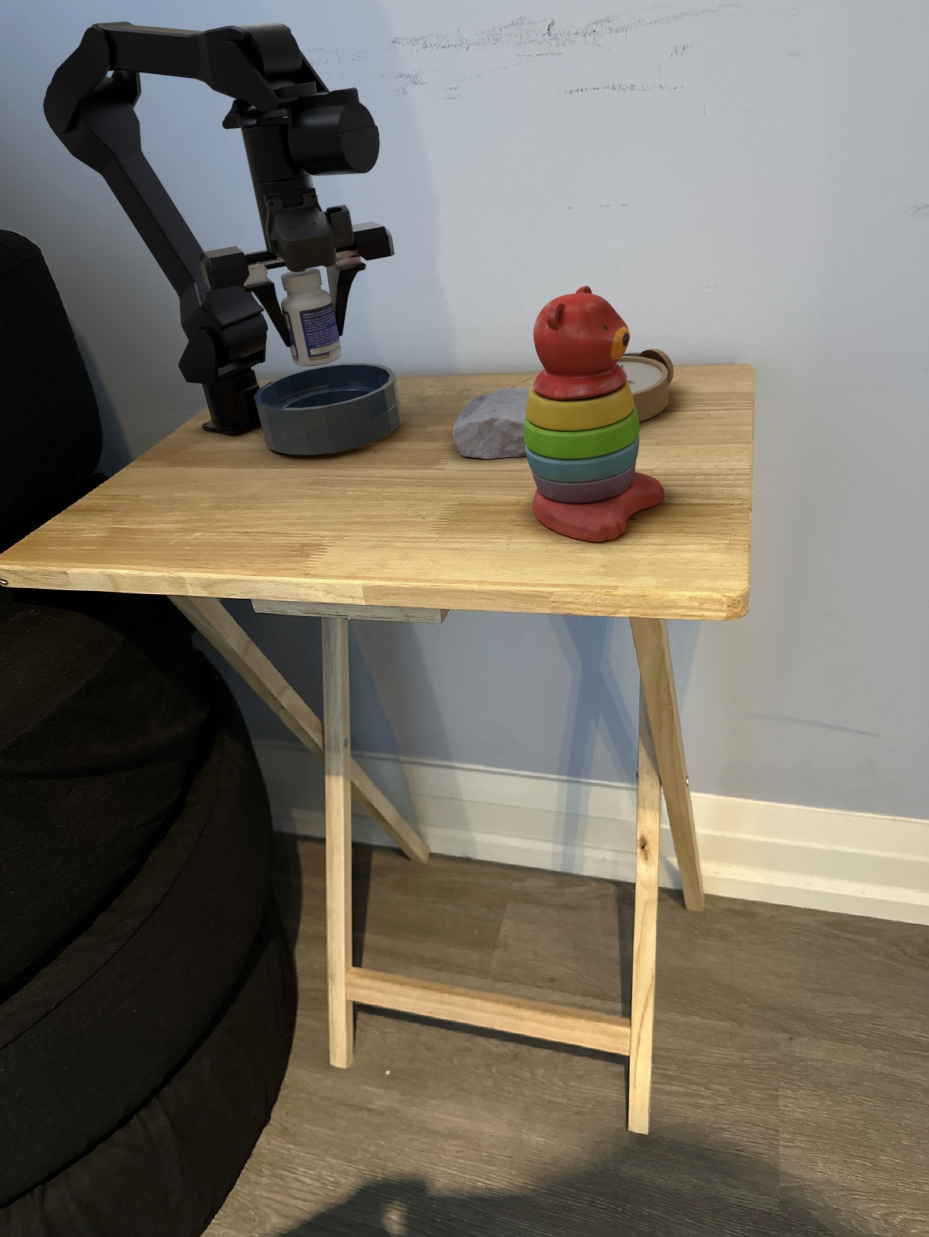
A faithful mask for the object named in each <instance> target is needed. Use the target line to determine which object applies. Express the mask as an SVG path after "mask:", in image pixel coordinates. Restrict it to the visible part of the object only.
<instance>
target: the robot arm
mask: <svg viewBox="0 0 929 1237" xmlns="http://www.w3.org/2000/svg"><path fill="white" fill-rule="evenodd" d="M299 46H300V45H299V44H298V41H297V39H296V38H295V36H294V34H293V33H292V29H291V28H290V27H289V26H288V25H286V24H284V23H283V22H279V21H271V22H269V21H268V22H259V23H258V22H257V23H245V24H234V25H225V26H220V27H216V28H210V29H206V30H195V29H183V28H172V27H161V26H149V25H138V24H133V23H131V22H129V21H110V22H98V23H97V22H96V23H93V24H91V26H90V27H87V28H86V30H85V31H84V33H83V36H82V37H81V40H80V42H79V45H78V46H77V48H76V49H75V50H74V51H73V52H71V53H70V55H69V56H68V57H67V58H66V59H65V60H64V61H63V62H62V63H61V64H60V65H59V66H58V67H57V68H56V69H55V71H54V73H53V76H52V78H51V80H50V83H49V84H48V85H47V88H46V91H45V95H44V98H43V102H42V109H43V114H44V117H45V120H46V122H47V124H48V126H49V128H50V129H51V131H52V132H53V134H54V135H55V136H56V137H57V139H58V140H59V142H61V143H62V145H63V146H64V147H65V149H67V151H68V152H69V153H70V155H71V156H72V157H73V158H75V159H77V160H78V161H80V162H81V163H83V164H84V165H85V166H87V167H88V168H90V169H92V170H93V171H94V172H96V173H98V174H99V175H100V176H101V177H102V178H103V180H104V182H105V183H106V185H107V186H108V187H109V189H110V191H111V192H112V194H113V195H114V198H116V200H117V202H118V203H119V205H120V206H121V208H122V210H123V211H124V213H125V214H126V216H127V217H128V219H129V220H130V222H131V223H132V225H133V227H134V228H135V230H136V231H137V233H138V235H139V236H140V238H141V239H142V241H143V242H144V244H145V245H146V247H147V249H148V250H149V253H150V254H151V255H152V256H153V258H154V260H155V261H156V264H158V266H159V268H160V270H161V271H162V272H163V274H164V275H165V277H166V279H167V280H168V282H169V283H170V285H171V287H172V288H173V290H174V291H175V292H176V295H177V296H178V301H179V315H180V316H179V317H180V326H181V328H182V330H183V332H184V335H185V336H186V339H187V340H188V341H187V343H186V345H185V347H184V350H183V353H182V355H181V357H180V359H179V361H178V364H177V366H178V369H179V371H180V373H181V374H182V377H183V378H184V380H185V382H186V383H188V384H198V385H199V384H201V385H202V389H203V390H202V391H203V394H204V397H205V400H206V403H207V404H206V405H207V407H208V412H209V416H210V420H209V421H206V422H204V423H202V424H201V428H202V430H207V431H213V432H217V433H223V434H227V435H230V436H237V435H240V434H243V433H245V432H246V431H249V430H251V429H253V428H255V427H258V426H261V423H260V419H259V415H258V411H257V407H256V402H255V398H254V395H255V394H256V393H257V391H258V390H259V389H260V388H261V387H260V384H259V383H258V379H257V375H256V371H255V369H253V367H255V366H257V365H259V364H263V363H265V362H266V360H267V359H266V358H267V357H266V356H267V341H268V331H269V325H268V322H267V320H266V318H265V316H264V314H263V312H266V314H267V316H268V318H269V319H270V321H271V322H272V324H273V326H274V328H275V330H276V331H277V333H278V335H279V337H280V338H281V341H282V342H283V344H284V346H285V347H286V348H290V347H291V344H290V338H289V333H288V330H287V327H286V324H285V321H284V317H283V314H282V309H281V304H280V302H279V300H278V296H277V291H276V285H275V282H274V281H272V280H271V279H270V278H269V277H268V273H269V272H268V271H269V270H274V269H280V268H285V267H286V269H287V270H288V272H290V271H291V272H303V271H305V270H306V269H308V268H317V267H324V268H325V269H326V276H327V285H328V293H329V294H330V295H331V298H332V302H333V307H334V313H335V318H336V323H337V328H338V334H339V337H343V335H344V330H345V323H346V315H347V308H348V302H349V297H350V293H351V289H352V285H353V282H354V280H355V278H356V277H357V274H358V273H359V272H362V271H365V270H367V264H366V263H365V262H363V260H365V261H366V262H368V261H373V260H380V259H384V258H390V257H393V256H394V255H395V254H396V253H395V247H394V246H395V245H394V239H393V236H392V233H391V231H390V230H389V229H388V228H387V227H386V226H385V225H383V224H380V223H377V222H374V221H367V222H361V223H355V224H353V222H352V218H351V212H350V209H349V208H348V207H347V205H346V204H340V205H335V206H329V207H326V210H323V208H322V207H321V205H320V203H319V199H318V194H317V190H316V187H315V186H314V181H313V177H321V176H323V177H324V176H325V177H326V176H342V175H343V176H344V175H361V174H368V173H369V172H370V171H372V169H373V168H374V167H375V166H376V164H377V161H378V158H379V154H380V149H381V147H380V146H381V143H380V142H381V139H380V130H379V126H378V125H376V123H375V119H374V117H373V115H372V114H371V111H370V110H369V109H368V108H367V106H365V105H364V104H363V103H362V102H360V95H359V90H358V88H357V87H356V86H354V87H345V88H339V89H333V90H330V89H329V88H328V86H327V85H326V84H325V82H324V81H323V79H322V78H321V77H320V75H319V74H318V73H317V71H316V70H315V68H314V67H313V66H312V64H311V63H310V61H309V60H308V58H307V57H306V55H305V54H304V52H303V51H302V50H301V49H300V47H299ZM109 72H112V73H111V75H110V76H108V73H109ZM141 74H149V75H156V76H157V75H159V76H167V77H176V78H184V79H192V80H197V81H199V82H201V83H205V84H206V85H207V86H208V87H209V88H210V89H211V90H212V91H214V92H216V93H219V94H221V95H223V96H227V97H229V98H232V99H233V101H232V104H231V107H230V110H228V112H227V113H226V115H225V117H224V118H223V120H222V122H221V126H222V128H223V129H224V130H235V129H240V132H241V136H242V141H243V146H244V150H245V155H246V159H247V164H248V169H249V175H250V179H251V183H252V189H253V192H254V197H255V198H254V199H255V202H256V208H257V211H258V216H259V221H260V226H261V232H262V235H263V240H264V244H265V249H262V250H257V251H250V252H246V253H244V251H243V250H242V249H240V248H239V247H238V246H237V245H233V246H227V247H223V248H218V249H212V250H207V251H205V250H204V249H203V248H202V246H201V244H200V242H199V241H198V239H197V237H196V236H195V234H194V233H193V231H192V230H191V228H190V226H189V225H188V223H187V221H186V220H185V218H184V216H183V215H182V213H181V212H180V211H179V208H178V207H177V206H176V204H175V203H174V201H173V199H172V198H171V196H170V194H169V193H168V191H167V190H166V188H165V187H164V185H163V183H162V181H161V180H160V178H159V177H158V175H157V173H156V172H155V170H154V169H153V167H152V166H151V165H152V164H150V162H149V160H148V159H147V157H146V156H145V154H144V152H143V148H142V132H141V129H142V128H141V121H140V120H139V117H138V116H137V113H136V111H135V107H136V106H137V103H138V101H139V99H140V97H141V95H142V93H143V92H142V83H141V81H142V80H141ZM362 259H363V260H362ZM255 297H256V298H255ZM257 300H258V301H259V302H258V301H257Z"/></svg>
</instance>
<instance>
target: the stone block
mask: <svg viewBox="0 0 929 1237" xmlns="http://www.w3.org/2000/svg"><path fill="white" fill-rule="evenodd" d="M530 389H531V387H525V386H518V387H517V386H516V387H515V386H513V387H503V388H500V389H496V390H495V391H492V392H486V393H485V392H484V393H483V394H482V395H477V396H475V397H474V398H471V399H470V400H469V401H468V404H467V405H465V406H464V407H463V408H462V410H461V411H460V413H459V415H458V417H457V419H456V422H454V424H453V427H452V432H451V434H452V441H453V443H454V446H455V448H456V449H457V451H458V453H460V454H461V456H463V457H469V458H476V459H481V460H493V459H503V458H520V457H527V456H526V452H525V442H524V422H525V417H526V405H527V399H528V394H529V391H530Z"/></svg>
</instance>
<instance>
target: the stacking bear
mask: <svg viewBox="0 0 929 1237" xmlns="http://www.w3.org/2000/svg"><path fill="white" fill-rule="evenodd" d="M532 335H533V336H532V337H533V344H534V348H535V352H536V355H537V358H538V360H539V362H540V363H541V365H542V366H543V369H542V370H541V371H540V372H538V374H537V376H536V377H535V379H534V381H533V385H532V386H531V387H530V388H531V389H530V391H529V394H528V399H527V405H526V417H525V422H524V442H525V452H526V456H525V457H526V460H527V462H528V466H529V469H530V471H531V475H532V478H533V480H534V484H535V485H536V489H535V492H534V495H533V499H532V513H533V515H534V516H535V518H536V519H537V520H538V521H539V522H540V523H541V524H543V525H544V526H546V527H547V528H549V529H551V530H553V531H555V532H557V533H559V534H562V535H565V536H568V537H571V538H575V539H577V540H578V539H579V540H583V541H589V542H590V541H591V542H605V541H612V540H614V539H616V538H618V537H619V536H621V535H623V534H624V533H625V532H626V531H627V521H628V519H629V518H630V517H631V516H632V515H633V514H635V513H637V512H639V511H642V510H645V509H648V508H651V507H654V506H657V505H658V504H659V503H660V502H661V501H662V500H663V499H664V498H665V490H664V487H663V485H662V483H661V482H660V481H659V480H658V479H657V478H655V477H653V476H651V475H649V474H645V473H642V472H637V471H636V468H637V467H636V466H637V459H638V456H639V448H640V438H641V436H640V432H641V426H640V422H639V419H638V414H637V410H636V407H635V406H634V400H633V396H632V392H631V389H630V386H629V383H628V381H627V375H626V373H625V371H624V370H623V369H622V368H621V367H620V366H619V365H618V364H617V362H618V361H619V359H620V358H621V357H622V356H623V355H624V353H626V351H627V349H628V346H629V343H630V339H631V332H630V329H629V327H628V324H627V323H626V322H625V320H624V319H623V318H622V317H621V315H620V314H619V313H618V312H617V310H616V309H615V308H614V307H613V305H612V304H611V303H610V302H609V301H608V300H606V298H603V297H602V296H600V295H599V294H598V295H597V294H596V293H593V290H592V288H591V287H590V286H588V285H584V286H581V287H579V288H578V289H576V290H575V292H574V293H567V294H562V295H560V296H557V297H555V298H553V299H552V300H549V302H547V303H546V304H545V305H544V306H543V307H542V309H540V312H539V313H538V314H537V317H536V319H535V322H534V325H533V333H532Z"/></svg>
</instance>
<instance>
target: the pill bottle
mask: <svg viewBox="0 0 929 1237" xmlns="http://www.w3.org/2000/svg"><path fill="white" fill-rule="evenodd" d="M280 279H281V285H282V288H283V291H284V292H286V296H284V297H283V298H282V300H281V302H280V308H281V311H282V314H283V317H284V321H285V324H286V327H287V330H288V333H289V338H290V344H291V347H289V351H290V354H291V358H292V362H293V363H294V365H296V366H300V367H319V366H324V365H328V364H330V363H333V362H336V361H338V360H339V359H340V358H342V356H343V349H342V344H341V340H340V336H339V334H338V328H337V323H336V318H335V313H334V307H333V302H332V298H331V295H330V293H329V291H328V290H327V291H326V290H325V289H322V286H323V279H322V273H321V270H320V269H319V268H317V267H313V268H308V269H306V270H305V271H303V272H291V271H287V272H284V273H282V274H281V275H280Z"/></svg>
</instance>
